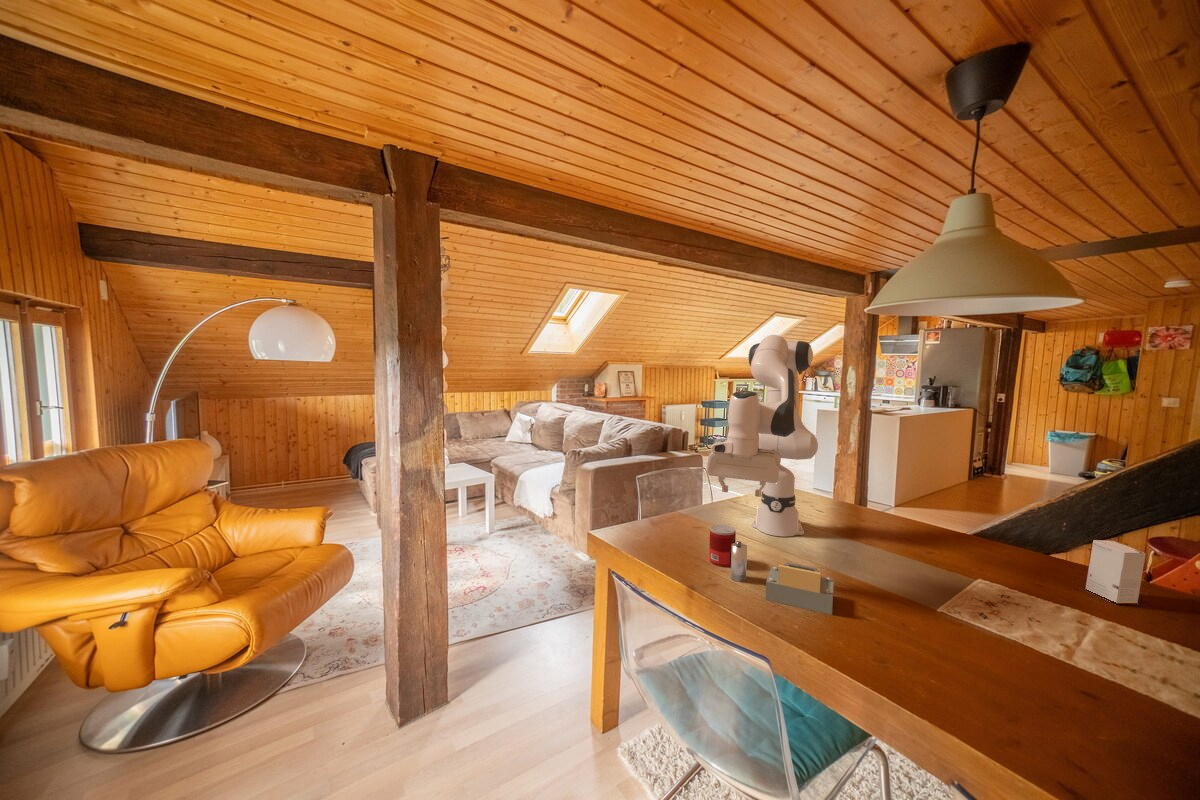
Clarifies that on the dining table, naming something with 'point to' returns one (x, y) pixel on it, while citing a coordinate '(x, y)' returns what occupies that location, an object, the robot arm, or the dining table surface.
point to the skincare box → (1115, 571)
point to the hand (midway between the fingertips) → (741, 494)
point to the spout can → (738, 562)
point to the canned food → (721, 544)
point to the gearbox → (800, 587)
